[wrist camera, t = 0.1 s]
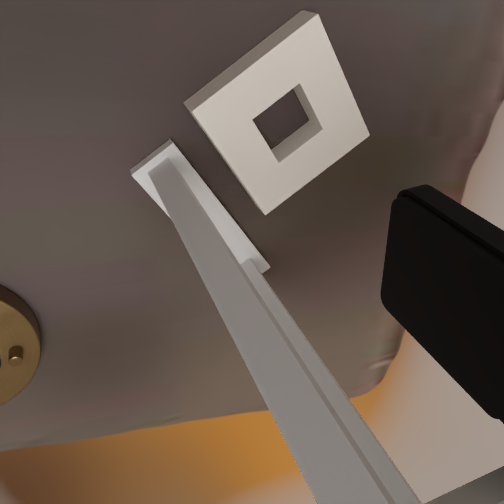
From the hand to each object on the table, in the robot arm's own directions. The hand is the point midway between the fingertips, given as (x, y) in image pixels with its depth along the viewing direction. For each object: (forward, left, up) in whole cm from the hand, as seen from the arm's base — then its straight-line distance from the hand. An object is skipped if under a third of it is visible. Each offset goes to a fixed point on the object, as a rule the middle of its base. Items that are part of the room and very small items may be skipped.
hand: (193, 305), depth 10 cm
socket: (+10, +18, -37) cm, 42 cm away
